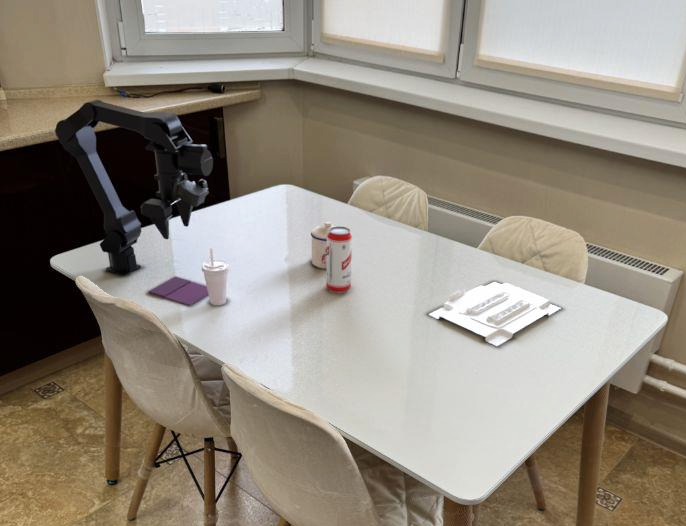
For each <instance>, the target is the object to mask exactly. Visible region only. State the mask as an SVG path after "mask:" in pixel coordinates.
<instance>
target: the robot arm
mask: <svg viewBox="0 0 686 526" xmlns="http://www.w3.org/2000/svg"><path fill="white" fill-rule="evenodd" d="M100 123H103V124H107V125H112V126H115V127H119V128H123V129H127V130H131V131H134V132H137V133H139V134H141V135H142V136H143V137H144V138H145V139H147V140H149V141H150V142H149V143H148V145H146V146H145V150H147V151H152V152H154V157H155V166H156V174H154V175H153V179H154V180H155V181H157V182H158V191H156V192H155V195H156V197H157V198H161V199H157V198H150V199H148V200H145V202H143V203H142V204H141V205H140V211H141V212H140V213H141V215H142V216H145V217H147V218H149V220H150V221H151V222H152V223H153V224H154V227H155V228H156V229H157V230H158V232H159V233H160V235H161V236H162V238H163V239H164V240H169V238H170V219H171V218H172V217H173V215H174V214H173V213H172V211H173V204H176V205H175V206H176V208H177V210H178V211H177V212H178V213H179V217H180V220H181V222H182V225H183V226H184V227H185V228H187V227H189V226H190V225H189V224H190V220H191V216H192V211H193V208H197V207H199V205H202V204H203V203H205V199H206V196H207V195H209V193H210V192H209V187H208V182H207V180H205V179H203V178H201V179H199V180H197V181H194V180H193V181H190V180H189V178H188V175H187V174H190V175H198V176H202V177H203V176H204V177H207V176H210V174H211V173H212V170H213V168H214V157H212V153H211V152H210V150H208V145H207V144H203V143H202V144H201V143H200V144H194V143H193V140H192V138H191V137H190V135H189V134H188V132H187V131H186V130H185V128H184V127H183V125H182V122H181V121H180V119H179V118H178V116H177V115H176V114H175V113H173V112H165V111H154V112H153V111H151V112H147V111H145V112H143V111H140V110H136V109H132V108H129V107H124V106H121V105H117V104H113V103H109V102H105V101H103V100H100V99H93V100H89V101H87V102H84V103H83V104H82V105H81V106H80V107H79V109H77V110H76V111H75V112H73V113H71V114H70V115H69V116H67V117H66V118H65V119H64V118H63V119H61V120H59V121H58V122H56V125H55V129H54V132H55V135H56V138H57V139H58V141H59V143H60V144H61V145H62V147H63V148H64V150H66V151H67V152H68V153H69V154H70V155H72V156H73V157H74V158H75V159H76V160H77V162H78V164H79V166H80V168H81V170H82V173H83V174H84V176H85V178H86V180H87V183H88V185H89V186H90V189H91V191H92V192H93V195H94V197H95V199H96V201H97V202H98V204H99V206H100V209H101V210H102V213H103V229H104V231H105V233H106V237H104V239H103V240H102V241H101V242H100V243H99V247H100V248H101V251H102V252H103V253H107V256H108V262H109V266H108V267H106V268H105V271H106V272H110V273H113V274H117V275H119V276H123V277H124V276H128V274H130V273H133V272H134V271H137V270H139V269H141V267H142V266H141V264H137V257H136V254H135V250H134V249H135V248H134V247H133V245H135V244H137V243H138V240H139V238H140V236H141V233H142V227H141V225H142V223H141V222H140V220H139V219H138V217H137V213H136V212H135V210H128V209H126V207H124V206H123V204H122V203H121V200H120V198H119V196H118V194H117V191H116V190H115V188H114V186H113V184H112V182H111V179H110V177H109V175H108V173H107V171H106V169H105V166H104V164H103V163H102V161H101V159H100V156H99V155H98V152H97V136H96V133H95V130H94V129H96V127H97V126H98V125H100ZM174 139H176V140H174ZM172 140H174V141H172Z"/></svg>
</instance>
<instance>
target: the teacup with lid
mask: <svg viewBox="0 0 686 526" xmlns="http://www.w3.org/2000/svg"><path fill="white" fill-rule="evenodd" d="M332 227H336V226H335V225H333V224H332V222H331V221H325V222H324V223H323V224H322V225H318V226H316V227H314V228H312V230H311V232H310V236H311V263H312V265H313V266H315V267H317V268H320V269H325V270H327V235H328V234H329V232H330V231H329V230H330V228H332Z"/></svg>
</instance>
